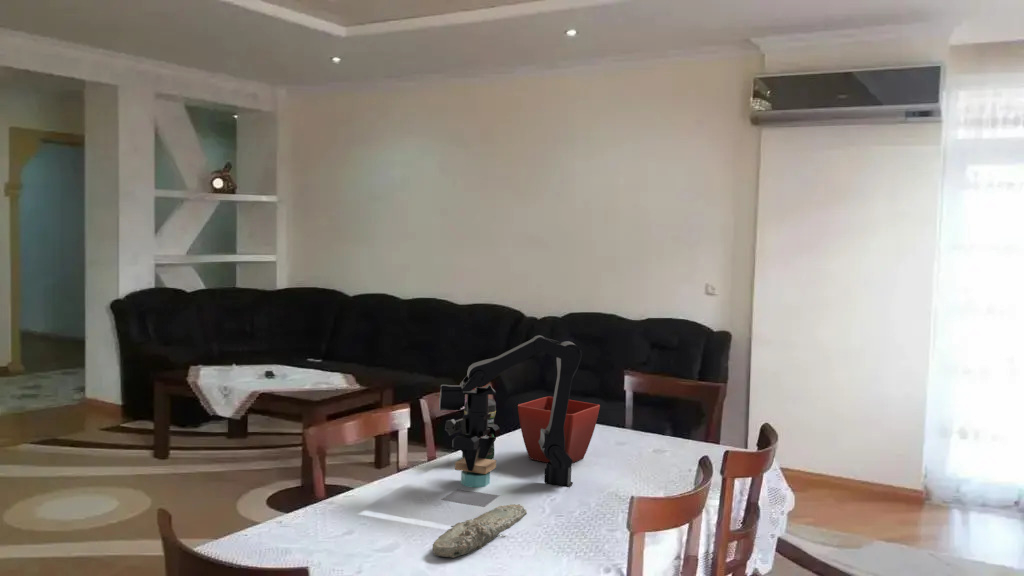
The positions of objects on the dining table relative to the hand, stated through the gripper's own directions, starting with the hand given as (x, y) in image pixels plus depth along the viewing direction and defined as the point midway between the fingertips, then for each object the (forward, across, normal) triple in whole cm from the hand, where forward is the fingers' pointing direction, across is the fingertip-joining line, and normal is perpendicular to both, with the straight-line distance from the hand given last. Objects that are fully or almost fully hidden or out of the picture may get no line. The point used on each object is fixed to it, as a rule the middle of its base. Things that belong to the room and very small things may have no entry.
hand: (475, 467), depth 230 cm
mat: (+5, +12, +4) cm, 14 cm away
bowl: (+5, 0, 0) cm, 5 cm away
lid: (0, 0, 0) cm, 0 cm away
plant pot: (+6, -37, +11) cm, 39 cm away
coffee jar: (+6, -25, -10) cm, 28 cm away
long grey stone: (+6, +32, +16) cm, 37 cm away
